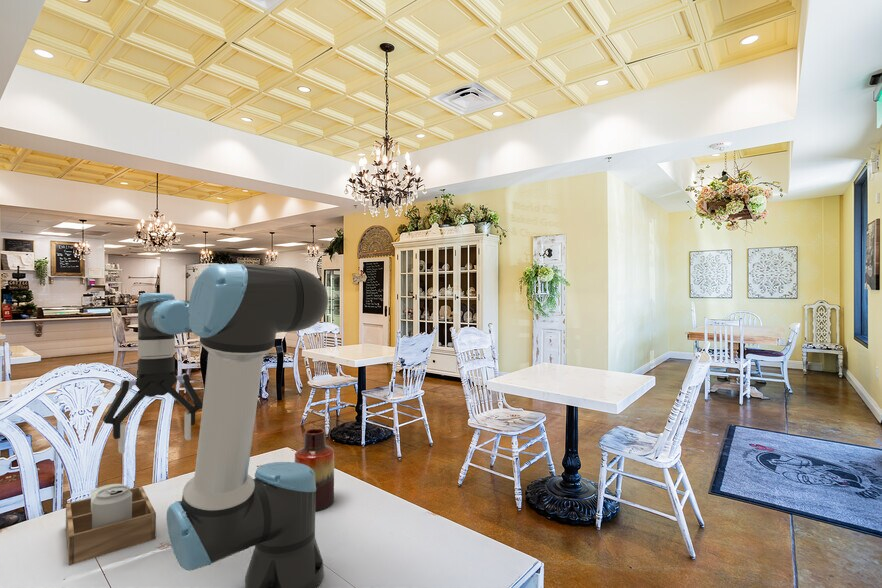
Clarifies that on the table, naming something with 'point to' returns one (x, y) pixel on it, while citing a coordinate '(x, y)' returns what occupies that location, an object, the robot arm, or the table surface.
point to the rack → (108, 529)
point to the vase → (319, 466)
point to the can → (111, 506)
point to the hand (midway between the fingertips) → (155, 445)
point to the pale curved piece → (93, 493)
